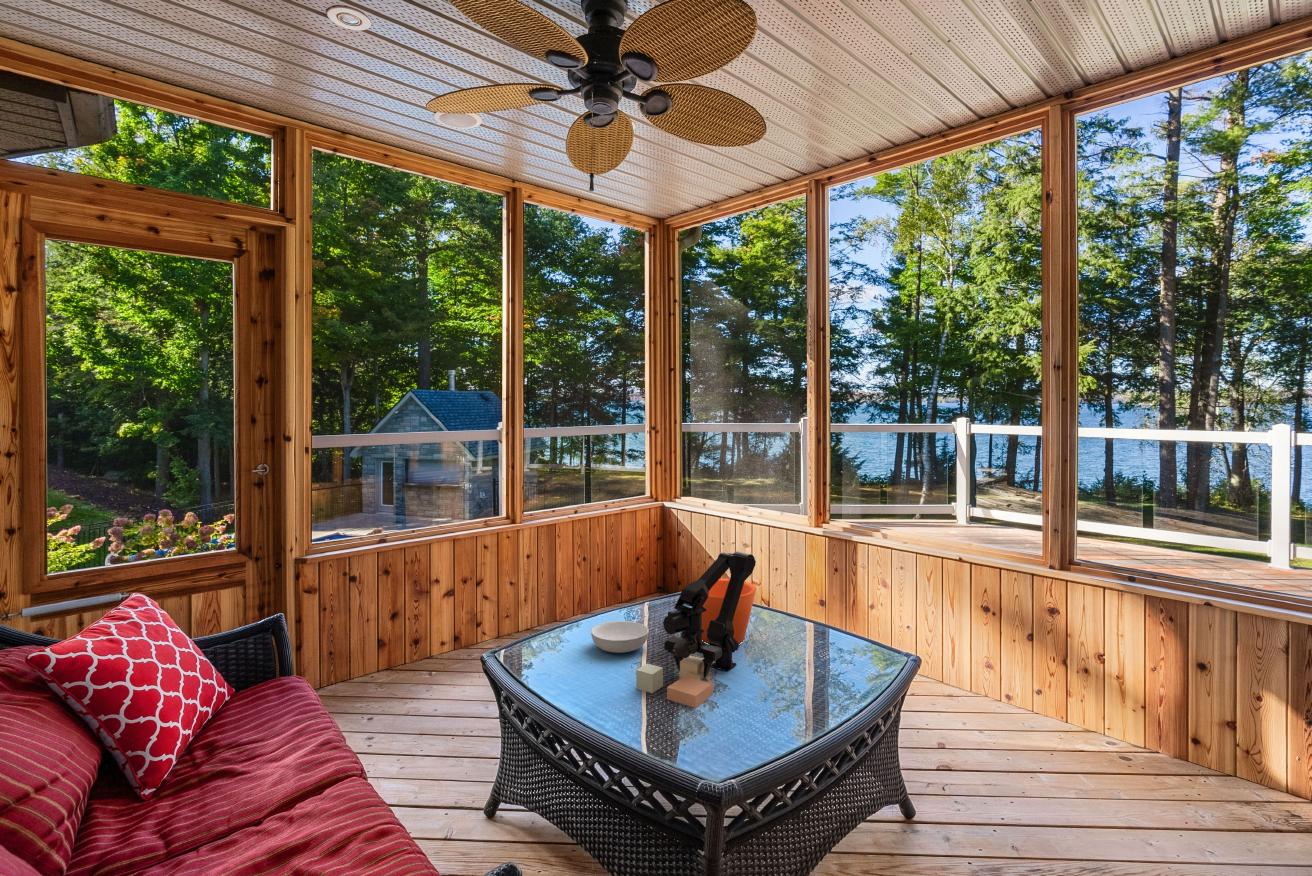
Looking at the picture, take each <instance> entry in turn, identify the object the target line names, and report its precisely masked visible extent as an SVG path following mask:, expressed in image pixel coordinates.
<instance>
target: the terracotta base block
mask: <svg viewBox="0 0 1312 876" xmlns="http://www.w3.org/2000/svg"><path fill="white" fill-rule="evenodd" d="M713 686H714V684H713V683H712V682H710V681H705V680H703V679H702V680H698V679H695V678H691V677H688V676H683V677H682V678H680V677H679V678H678V680H676V681H675V682H673V683H672V684H669V685H668V686H667V687H666V700H667V701H668V700H669V701H671V702H674V703H679V704H681V705H685V706H687V707H691V708H695V709H696V708H698V707H699V706H700V705H702V704H704V702H705V701H707V700H709V699H710V698H711V697H712V696H713V694H714V693H713V692H714V691H713V690H714V689H713V688H714V687H713ZM709 697H710V698H709Z"/></svg>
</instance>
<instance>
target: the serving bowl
mask: <svg viewBox="0 0 1312 876" xmlns="http://www.w3.org/2000/svg"><path fill="white" fill-rule="evenodd" d="M649 631H650V629H649V627H648V626H646V625H645V624H642V623H639V622H636V621H628V620H625V621H624V620H615V621H614V620H613V621H607V622H603V623H599V624H596V625H595V626H593V628H591V630H590V633H591V634H590V635H591V639H592V642H593V644H595V646H596V647H598V648H599V649H600V650H602V651H605V652H609V653H613V654H615V653H616V654H622V653H623V654H624V653H629V652H632V651H636V650H638V649H639V648H642V647H643V645H644V644H645V643H646V642H647V640H648V637H649V634H650V633H649Z"/></svg>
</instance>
